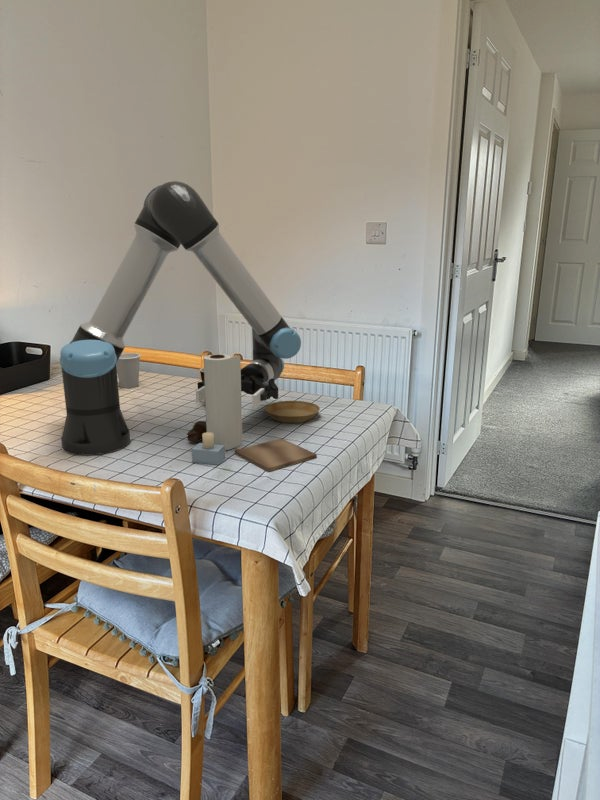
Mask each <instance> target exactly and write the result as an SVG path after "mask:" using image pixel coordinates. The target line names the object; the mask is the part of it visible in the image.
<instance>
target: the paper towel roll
mask: <svg viewBox="0 0 600 800" xmlns="http://www.w3.org/2000/svg"><path fill="white" fill-rule="evenodd" d="M203 368H204V380H205V399H204V403H206V404H205V421H206V426H207V432H212V433H214V444H217V445H225V451H229V450H233V449H235V448H237V447H239V446H240V445H243V417H242V416H243V414H242V413H243V412H242V411H243V410H242V409H243V408H242V407H243V406H242V391H241V369H242V367H241V355H236V356H233V357H232V356H231V355H229V354H223V353H222V354H221V353H219V354H218V353H217V354H207V355H204V356H203Z"/></svg>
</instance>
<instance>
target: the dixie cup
mask: <svg viewBox="0 0 600 800" xmlns="http://www.w3.org/2000/svg"><path fill="white" fill-rule="evenodd" d="M140 361H141V354H140V353H137V352H122V354H121V356H120V357H119V359H118V361H117V363H116V367H117V379H118V384H119V387H120V388H121V387H122V389H133V388H137V387H139V384H140V382H139V380H140Z"/></svg>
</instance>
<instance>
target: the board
mask: <svg viewBox="0 0 600 800" xmlns="http://www.w3.org/2000/svg"><path fill="white" fill-rule="evenodd" d="M234 454H235V455H236V456H238V457H240V458H241V459H243V460H246V461H247V462H249V463H250V464H252V465H255V466H257V467H259V469H262V470H264V471H266V472H267V473H269V472H272V471H276V470H281V469H283V468H287V467H289V466H294V465H296V464H299V463H302V462H307V461H310V460H314V459H317V456H318V454H317V453H315V452H312V451H311V450H308V449H307V448H303V447H302V446H299V445H297V444H295V443H293V442H291V441H289V440H287V439H284V438H277V439H274V440H270V441H265V442H262V443H258V444H254V445H253V444H252V445H249V446H247V447H246V446H245V447H242V448H239V449H234Z"/></svg>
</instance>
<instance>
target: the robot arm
mask: <svg viewBox="0 0 600 800" xmlns="http://www.w3.org/2000/svg"><path fill="white" fill-rule="evenodd" d="M142 206H143V207H142V209H141V210H140V212H139V214H138V217H137V218H136V220H135V221H134V224H133V227H134V229H135V236H134V238H133V240H132V242H131V244H130V245H129V248H128V249H127V251H126V253H125V254H124V257H123V258H122V260H121V262H120V264H119V266H118V268H117V270H116V272H115V273H114V276H113V277H112V279H111V281H110V283H109V285H108V286H107V288H106V290H105V291H104V294H103V296H102V298H101V300H100V302H99V303H98V306H97V307H96V309H95V311H94V313H93V315H92V316H91V318H90V320H89V321H87V322H84V323H81V324H80V325H79V327H78V329H77V331H76V332H75V334H74V335H73V337H72V339H71V341H70V342H69V343H66V344H65V345H64V346H63V347H62V348H61V349H60V352H59V353H60V354H59V355H60V357H59V364H60V367H61V374H62V385H63V393H64V402H65V410H66V411H65V412H66V417H65V422H64V426H63V429H62V434H61V437H60V440H61V449H62V448H63V449H62V450H63V451H64V452H66V453H69V454H72V455H77V456H81V455H82V456H92V455H93V456H94V455H95V456H96V455H101V454H107V453H111V452H112V453H113V452H115V451H119V450H121V449H123V448H125V447H127V446H128V445H129V444H130V443H131V433H130V432H131V431H130V429H129V427H128V425H127V422H126V420H125V417H124V415H123V412H122V410H121V405H120V403H121V402H120V392H119V391H120V390H119V379H118V374H117V367H116V363H117V361H118V359H119V357H120V356H121V354H122V353H124V349H125V347H126V346H125V342H124V339H123V338H124V337H125V335H126V333H127V330H128V329H129V327H130V325H131V323H132V322H133V320H134V318H135V316H136V314H137V313H138V310H139V308H140V307H141V305H142V303H143V301H144V300H145V298H146V296H147V294H148V293H149V290H150V288H151V287H152V284H153V282H154V281H155V279H156V278H157V275H158V273H159V272H160V270H161V268H162V266H163V264H164V262H165V260H166V258H167V256H168V255H169V254H170V253H172V252H173V253H174V252H177V251H179V248H180V246H182V247H183V248H184V250H185V251H188V252H192V253H193V254H194V255H195V257H196V258H197V260H199V262H200V263H201V265H202V266H203V267H204V269H206V271H207V272H208V273H209V275H210V276H211V277H212V279H213V280H214V281H215V282H216V284H218V286H219V287H220V289H221V290H222V291H223V292H224V294H225V295H226V296H227V297H228V299H229V300H230V301H231V303H232V304H233V305H234V307H235V308H236V309H237V310H238V312H239V313H240V314H241V315H242V317H243V318H244V319H245V320H246V322H247V323H248V324H249V326H250V327H251V336H252V337H251V338H252V339H251V340H252V361H251V362H250V363H248V364H247V365H245V366H244V367H241V392H243V393H244V394H247V395H251V396H252V402H251V403H252V408H256V407H257V406H259V405H260V404H261V403H262V402H263V401H264V402H265V401H267V400H269V399H271V398H272V399H274V400H278V399H279V387H278V385H277V384H276V383H275V382H276V380H278V379H279V378H280V376H281V374H283V372H284V369H285V362H284V360H283V359H286V360H287V359H291V358H293V357H295V356H296V355H297V354H298V353H299V351H300V349H301V346H302V340H301V336H300V335H299V333H298V332H297V331H296V330H295V329H293V328H291V327H290V326H289V324H288V323H287V321H286V320H285V319H284V318H283V317H282V315H281V313H280V312H279V311H278V310H277V308H276V307H275V305H274V304H273V303H272V301H271V300H270V299H269V298H268V296H267V294H266V293H265V292H264V291H263V289H262V288H261V286H260V285H259V284H258V282H257V281H256V279H255V278H254V277H253V276H252V274H251V273H250V272H249V270H248V269H247V268H246V266H245V264H243V262H242V261H241V260H240V258H239V256H237V254H236V253H235V251H234V250H233V249H232V247H231V246H230V245H229V243H228V242H227V241H226V240H225V238H224V236H223V235H222V234H221V233H220V223H219V222H218V221H217V220H216V218H215V216H214V215H213V214H212V212H211V211H210V209H209V208H208V207H207V205H206V203H205V202H204V201H203V199H202V197H201V196H200V195H199V193H198V192H197V191H196V190H195V189H194V188H193V187H192V186H191V185H189V184H187V183H185V182H182V181H177V180H172V181H167V182H164V183H162V184H160V185H157V186H156V187H153V189H151V190H150V191H149V192H148V193H147V195H146V197H145V199H144V201H143V205H142ZM202 401H205V381H202V380H201V381H199V382H197V390H195V403H197V404H198V403H199V404H200V403H201V402H202Z"/></svg>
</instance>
